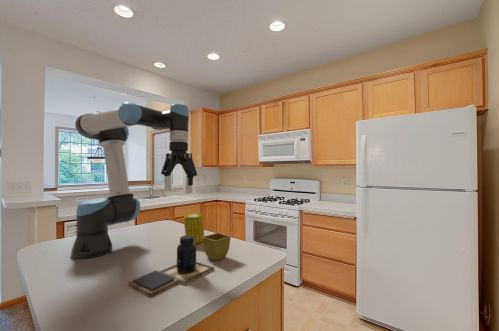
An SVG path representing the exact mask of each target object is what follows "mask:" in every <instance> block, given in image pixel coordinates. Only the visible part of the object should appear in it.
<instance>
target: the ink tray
mask: <svg viewBox="0 0 499 331" xmlns="http://www.w3.org/2000/svg"><path fill="white" fill-rule="evenodd" d="M156 271H157V270H156ZM157 272H159V271H157ZM159 273H160V272H159ZM162 274H163V273H162ZM164 275H165V274H164ZM167 276H168V275H167ZM169 277H170V276H169ZM172 278H173V277H172ZM127 284H128V286H129V287H131V288H132V289H135V290H137V291H139V292H141V293H142V294H144V295H146V296H148V297H150V298H152V297H154V296H155V295H158V294H160V293H161V292H163V291H165V290H167V289H170V288H171V287H174V286H175V285H177V284H179V283H178V279H175V278H174V280H173V281H171V282H169V283H167V284H165V285H163V286H161V287H159V288H157V289H155V290H153V291H151V290H149V289H147V288H144V287H142V286H140V285H138V284H136V283H134V282H133V280H131V281H128V283H127Z"/></svg>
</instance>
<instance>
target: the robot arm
mask: <svg viewBox="0 0 499 331" xmlns="http://www.w3.org/2000/svg"><path fill="white" fill-rule="evenodd" d="M189 110H190V109H189V107H188V106H187V105H186V104H183V103H182V104H181V103H173V104H171V105H170V108H169V110H167V111H160V110H157V109H154V108H150V107H146V106H143V105H139V104H136V103H132V102H123V103H121V105H120V106H119V107H118V108H116V109H113V110H109V111H103V112H99V113H96V114H95V113H92V112H91V113H85V114H81V115H79V116H78V117H77V118H76V120H75V122H74V126H75V128H76V129H75V130H76V131H77V132H78V134H79V135H81V136H82V137H84V138H86V139H90V140H96V141H98V143H99V146H100V147H101V148H103V154H104V162H105V167H106V168H105V169H106V174H107V175H106V176H107V182H108V189H109V190H108V191H109V195H108V196H107V197H100V198H92V199H87V200H84V201H82V202H80V203H78V205H77V206H76V212H75V214H76V237H75V241H74V242H73V245H72V248H71V251H70V257H71V258H73V259H78V260H79V259H90V258H91V259H92V258H96V257H99V256H100V257H101V256H103V255H106V254H108V253H111V252H112V250H113V243H112V240H111V237H110V235H109V226H113V225H116V224H117V225H119V224H122V223H128V222H130V221H133V220H135V219H136V218H138V216H139V214H140V212H141V202H140V200H139V199H138V198H136V197H135V196H134V193H133V192H131V190H130V188H129V180H128V174H127V168H126V163H125V162H126V160H125V155H124V154H125V153H124V148H123V147H124V145H125V144H126V142H127V141H128V139H129V135H130V134H129V128H128V127H131V126H142V127H149V128H150V129H153V130H156V131H157V130H158V131H162V130H163V131H164V130H169V141H170V142H169V151H170V152H171V153H166V154H165V160H164V162H163V166H162V169H161V172H160V174H161V175H163V177H164V182H163V183H164V192H171V191H172V175H171V174H172V172H173V171H174V169H175V167H176V166H177V165H181V167H182V169H183V171H184V173H185V174H186V177H185V194H187V195H188V194H193V185H194V177H197V176H198V171H197V169H196V166H195V163H194V160H193V154H192V152H188V151H189V143H188V142H189V121H190V120H189V118H190V114H189V112H190V111H189Z"/></svg>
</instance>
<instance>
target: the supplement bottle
mask: <svg viewBox="0 0 499 331" xmlns="http://www.w3.org/2000/svg"><path fill="white" fill-rule="evenodd" d="M185 235H186V234H185ZM185 235H183V236H180V237H179V244H178V246H177V247H176V264H177V272H178V273H180V274H189V273H192V272H194V271H195V269H196V262H197V245H196V243H195V244H194V243H193V242H194V237H193V236H190V235H186V236H185Z"/></svg>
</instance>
